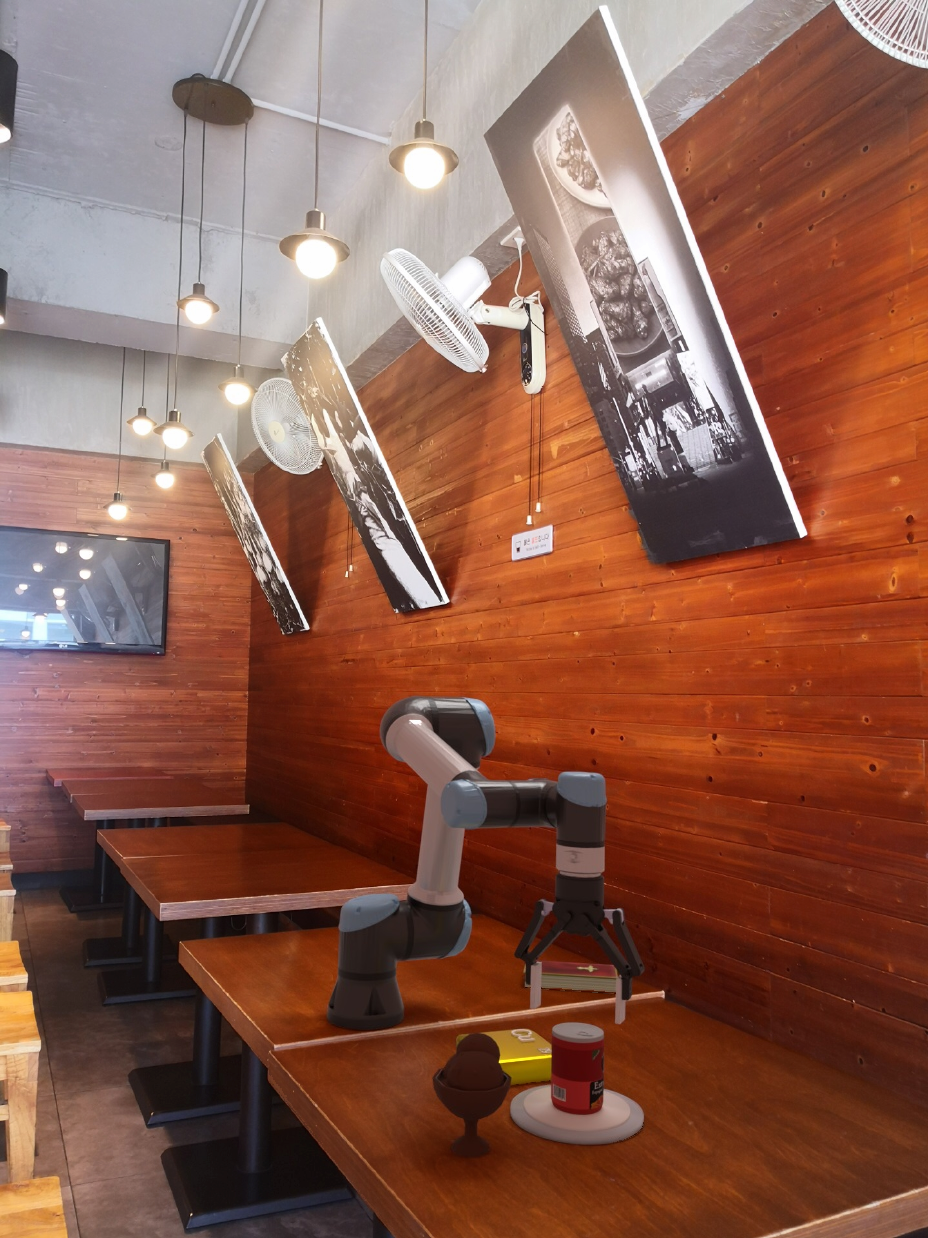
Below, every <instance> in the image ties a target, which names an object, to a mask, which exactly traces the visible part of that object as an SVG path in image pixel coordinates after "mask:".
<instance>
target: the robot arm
mask: <svg viewBox="0 0 928 1238" xmlns="http://www.w3.org/2000/svg"><path fill="white" fill-rule="evenodd" d="M379 738H380V740H381V744H382V745H383V747H384V749H385V751H387V753H388V754H389V755H390V757H392V758H394V759H395V760H396V761H399V762H403V763H406V764H407V765H408V766H409V767H410V768H411V769H412V770H413V771H414V772H415V773H416V774H417V775H418V776H419V777H420V779H422V781H424V782H425V783H426V784H427V788H426V789H427V790H426V797H425V798H426V799H425V807H424V813H423V822H422V831H421V839H420V840H421V841H420V848H419V856H418V863H417V865H418V866H417V872H416V873H417V874H416V881H415V882H413V883H412V884H411V885H409V887H408V888H407V894H406V895H407V896H406V899H405V900H400V899H399V897H398V895H396V894H393V893H372V894H364V895H360V896H356V897H354V898H351V899H349V900H347V901H346V902H344V904H343V905H342V907H341V909H340V916H339V923H338V931H339V932H338V957H337V959H338V960H337V962H338V963H337V979H336V982H335V984H334V986H333V989H332V992H331V995H330V999H329V1002H328V1004H327V1007H326V1008H327V1011H326V1014H327V1015H326V1019H327V1021H328V1023H330V1024H331V1025H334V1026H336V1027H340V1028H344V1029H348V1030H349V1029H351V1030H358V1031H359V1030H365V1031H368V1030H380V1029H386V1028H387V1029H388V1028H391V1027H394V1026H397V1025H399V1024H401V1023H402V1022H403V1021H404V1016H405V1006H404V1002H403V999H402V995H401V992H400V988H399V984H398V979H397V964H398V962H405V961H406V962H407V961H421V960H431V959H432V960H433V959H434V960H435V959H437V960H441V959H445V958H447V957H455V956H457V955H459V954H460V953H462V952H463V950H465V948H466V947H467V944H468V943H469V940H470V936H471V935H472V933H471V932H472V927H473V919H472V918H471V915H472V911H471V907H470V905H469V902H467V900H466V899H465V898H464V897H465V896H464V893H463V891H462V890H461V889H460V888H459V881H460V880H459V878H460V870H461V864H462V863H461V862H462V855H463V854H462V853H463V845H464V839H465V838H464V837H465V830H475V829H497V828H537V827H538V828H539V827H542V828H543V827H545V828H551V829H552V828H553V829H556V845H555V847H556V856H555V869H557V870H558V872H557V873H555V885H554V887H555V889H554V890H555V891H554V892H555V893H554V894H555V895H554V898H555V899H554V902H550V901H548V900H547V899H546V898H541V899H540V900H537V901H535V905H534V911H533V915H532V918H531V919H530V921H529V924H528V925H527V928H526V929H525V931H524V934H523V935H522V936H521V939H520V941H519V943H518V945H517V946H516V949H515V950H514V953H513V954H514V957H515V958H516V959H519V960H521V961H523V962H524V965H525V964H526V972H525V974H526V975H525V974H524V975H525V976H524V983H525V982H526V984H527V985H531V988H530V994H529V995H530V996H529V997H530V998H529V1001H530V1004H529V1005H530V1006H529V1009H530V1010H536V1009H537V1008H539V1007H540V1006H541V1004H542V1003H541V1002H542V989H541V971H542V962H536V961H538V960H539V958H540V957H541V956H542V954H544V952H545V951H546V950H547V949H548V947H550V945H552V944H553V943H554V942H555V940H556V939H557V938H558V937H559V935H561V933H563V932H565V933H566V934H567V935H571V936H572V935H578V936H580V937H588V936H591V938H592V939H593V940H594V941H596V942H597V943H598V945H599V947H600V949H601V950H603V951H602V952H604V954H605V955H606V957H607V958H608V959H609V961H610V962H611V965H614V967H615V968H616V970H617V973H618V974H619V975H618V977H617V978H616V994H615V1010H614V1011H615V1014H614V1015H615V1017H614V1019H615V1020H614V1023H615V1024H616V1025H621V1024H622V1023H623V1022H624V1021H625V1020H626V1001H627V1002H628V1001H629V1000H630V999H632V995H633V978H635V977H639V976H641V975H642V974H643V973H644V972H645V970H646V968H645V966H644V963H643V961H642V958H641V956H640V954H639V952H638V948H637V947H636V945H635V943H634V940H633V938H632V936H631V933H630V931H629V928H628V926H627V924H626V917H625V909H624V908H622V907H619V908H617V909H607V908H606V907H605V903H604V902H605V901H604V900H605V876H604V875H602V873H603V872H605V853H606V852H605V849H606V848H605V845H606V844H605V840H606V815H607V811H606V810H607V802H608V799H607V796H606V795H607V794H606V778H605V777H604V776H603V774H601V773H597V772H588V771H587V772H585V771H563V772H560V774H559V775H558V779H557V781H556V780H551V779H549V778H544V777H543V778H529V779H527V780H520V779H519V780H518V779H517V780H506V779H504V780H503V779H499V780H498V779H497V780H495V779H493V780H492V779H488V778H487V777H486V776H485V775H483V774H482V773H481V772H480V771H478V770H479V769H480V768H481V761H482V757H483V758H484V757H486V756H489V755H490V754H491V753H492V751H493V749H494V747H495V743H496V726H495V722H494V718H493V715H492V713H491V710H490V708H489V707H488V706H487V704H486V703H485V702H484V701H482V700H480V699H476V698H471V697H470V698H469V697H464V696H423V695H413V696H408V697H405V698H401V699H399V700H398V701H396V702H395V703H393V704H392V705H391V706H389V708H388V709H387V710H386V711H385V712H384V714H383V717H382V718H381V721H380V726H379ZM551 911H552V914H553V915H554V917H555V919H556V920H557V921H556V922H555V923H554V925H553V926H552V927H551V928H550V929H549V931H548V932H547V933H546V934H545V935H544V936H543V937H542V939H541V940H540V941H539V942H538V943H537V944H536V945H535V946H534V947H533V949H532V950H531V951H529V949H530V948H531V945H532V944H533V941H534V939H535V938H536V936H537V934H538V932H539V930H540V928H541V926H542V924H543V922H544V920H545V918H546V916H548V915H550V913H551ZM606 918H607V920H608V922H609V923H610V924H611V925H612V926H613V929H614V932H615V935H616V937H617V939H618V941H619V944H620V946H621V948H622V951H623V953H624V955H625V957H626V958H625V957H624V955H623V954H622V952H621V951H620V950H619V948H618V947H617V946H616V943H615V942H614V941H613V940H612V938H611V937H610V936H609V935H608V931H607V929H606V928H605V926H604V925H603V924H602V923H603V922H604V920H605V919H606Z"/></svg>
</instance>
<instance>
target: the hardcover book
mask: <svg viewBox="0 0 928 1238" xmlns="http://www.w3.org/2000/svg"><path fill="white" fill-rule="evenodd" d="M536 962H542V971H541V987H542V988H562V989H572V990H594V991H605V992H616V978H617V977H618V976H619V975H618V971H617V970H616V968H615V967H614V965H613V964H604V963H603V964H599V963H582V962H568V961H567V962H566V961H552V960H551V961H549V960H536ZM525 972H526V964H525V963H524V968H523V975H526V974H525ZM525 987H531V985H527V984H526V982H525V981H524V988H525Z"/></svg>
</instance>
